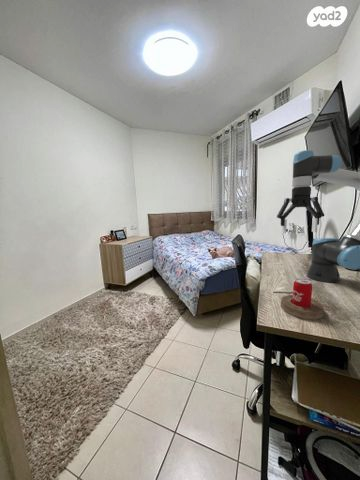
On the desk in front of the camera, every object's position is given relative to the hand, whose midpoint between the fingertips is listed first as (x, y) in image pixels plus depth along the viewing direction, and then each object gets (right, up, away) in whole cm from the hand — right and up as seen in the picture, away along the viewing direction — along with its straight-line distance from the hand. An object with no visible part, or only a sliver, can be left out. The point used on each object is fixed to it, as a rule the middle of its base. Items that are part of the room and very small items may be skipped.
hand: (299, 232), depth 92 cm
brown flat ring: (-9, -31, -16) cm, 36 cm away
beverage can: (-9, -32, -16) cm, 36 cm away
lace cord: (-6, -29, 0) cm, 30 cm away
